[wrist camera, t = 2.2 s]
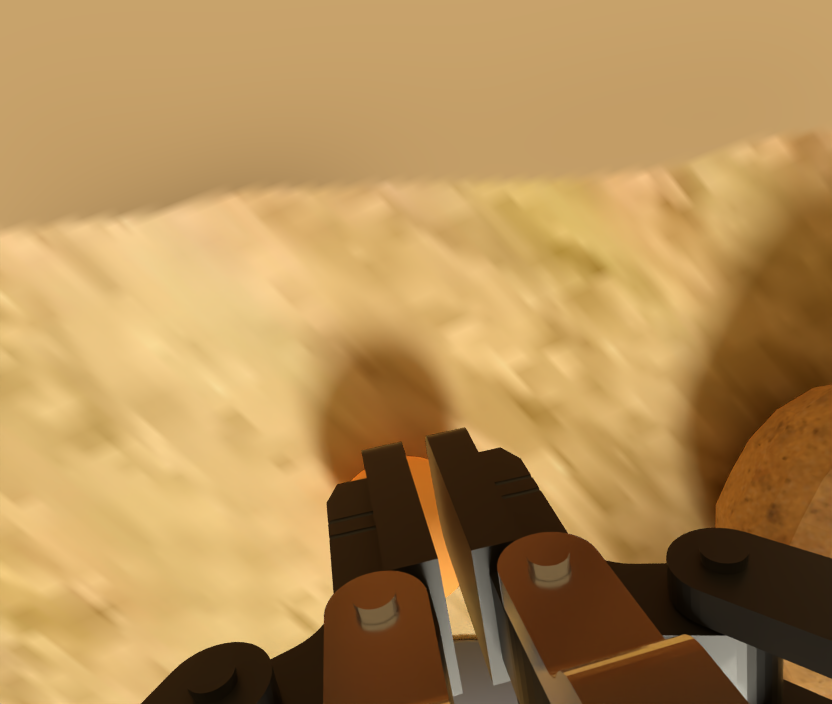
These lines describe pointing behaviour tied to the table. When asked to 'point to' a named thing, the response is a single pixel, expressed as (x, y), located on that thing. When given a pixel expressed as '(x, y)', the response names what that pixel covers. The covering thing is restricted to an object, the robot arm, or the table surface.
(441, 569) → the ball
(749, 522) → the potato
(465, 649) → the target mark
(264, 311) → the table surface
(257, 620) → the table surface
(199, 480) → the table surface
